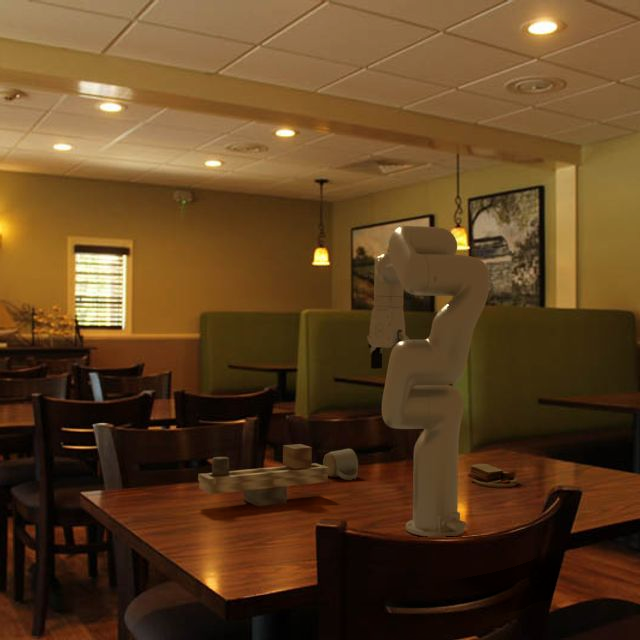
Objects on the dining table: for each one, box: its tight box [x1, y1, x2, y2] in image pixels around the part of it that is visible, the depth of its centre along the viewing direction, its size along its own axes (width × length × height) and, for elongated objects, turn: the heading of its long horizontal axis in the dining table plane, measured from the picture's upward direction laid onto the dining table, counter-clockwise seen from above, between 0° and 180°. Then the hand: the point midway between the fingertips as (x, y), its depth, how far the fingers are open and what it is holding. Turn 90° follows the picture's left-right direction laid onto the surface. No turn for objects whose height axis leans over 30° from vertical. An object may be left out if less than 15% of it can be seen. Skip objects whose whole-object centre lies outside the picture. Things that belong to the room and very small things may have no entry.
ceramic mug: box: [322, 448, 359, 481], centre depth 233 cm, size 11×8×8 cm
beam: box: [197, 456, 329, 507], centre depth 201 cm, size 33×8×12 cm, turn 120°
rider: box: [282, 443, 313, 470], centre depth 206 cm, size 5×6×7 cm
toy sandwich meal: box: [467, 463, 519, 488], centre depth 227 cm, size 12×14×5 cm
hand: (387, 369), depth 209 cm, fingers open, 9 cm apart
